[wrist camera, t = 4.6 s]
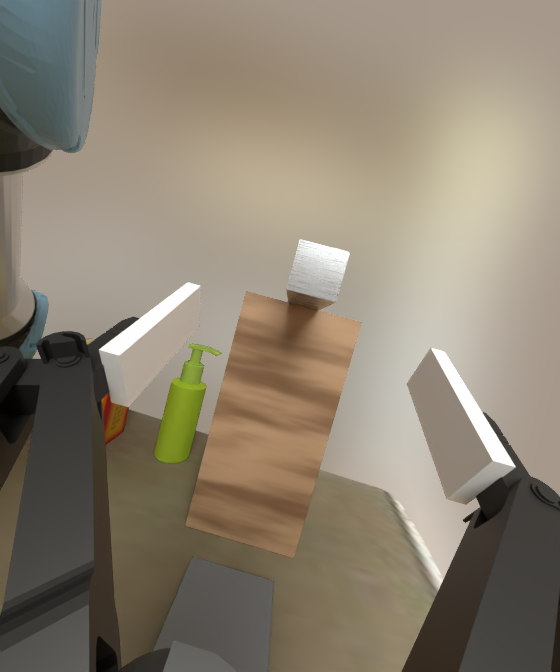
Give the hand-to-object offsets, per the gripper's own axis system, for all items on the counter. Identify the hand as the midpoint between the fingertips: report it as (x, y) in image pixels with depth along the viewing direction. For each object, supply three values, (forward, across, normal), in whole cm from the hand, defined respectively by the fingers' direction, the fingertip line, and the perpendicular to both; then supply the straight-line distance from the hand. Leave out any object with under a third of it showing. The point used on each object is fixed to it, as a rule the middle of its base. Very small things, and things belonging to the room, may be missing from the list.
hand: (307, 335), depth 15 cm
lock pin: (+17, 0, -7) cm, 18 cm away
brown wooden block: (+4, 0, -34) cm, 34 cm away
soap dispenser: (+11, -15, -38) cm, 43 cm away
